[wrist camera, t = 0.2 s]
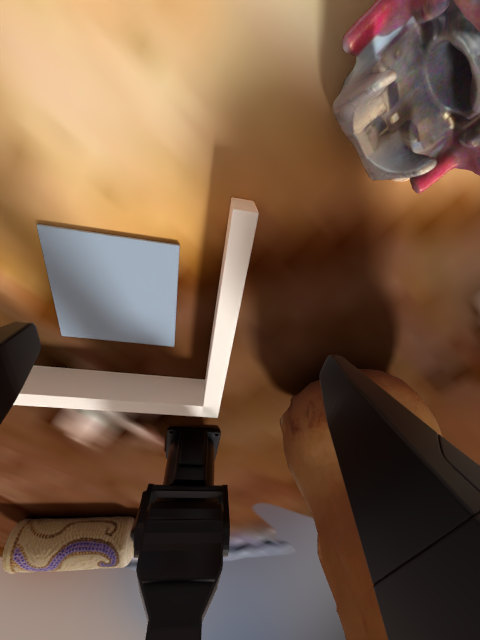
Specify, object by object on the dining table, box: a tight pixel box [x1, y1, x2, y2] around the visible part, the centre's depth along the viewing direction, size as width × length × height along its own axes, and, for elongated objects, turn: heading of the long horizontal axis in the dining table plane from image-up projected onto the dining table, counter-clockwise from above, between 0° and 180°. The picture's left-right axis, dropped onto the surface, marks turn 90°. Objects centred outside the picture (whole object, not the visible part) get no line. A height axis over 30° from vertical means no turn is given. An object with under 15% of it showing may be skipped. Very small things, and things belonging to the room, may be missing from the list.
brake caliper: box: [333, 0, 480, 193], centre depth 13 cm, size 11×11×12 cm
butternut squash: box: [280, 369, 443, 640], centre depth 21 cm, size 14×13×25 cm
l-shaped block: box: [13, 197, 259, 418], centre depth 23 cm, size 20×20×4 cm
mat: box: [37, 224, 180, 347], centre depth 23 cm, size 10×10×1 cm
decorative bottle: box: [2, 516, 135, 574], centre depth 45 cm, size 26×8×7 cm, turn 84°
